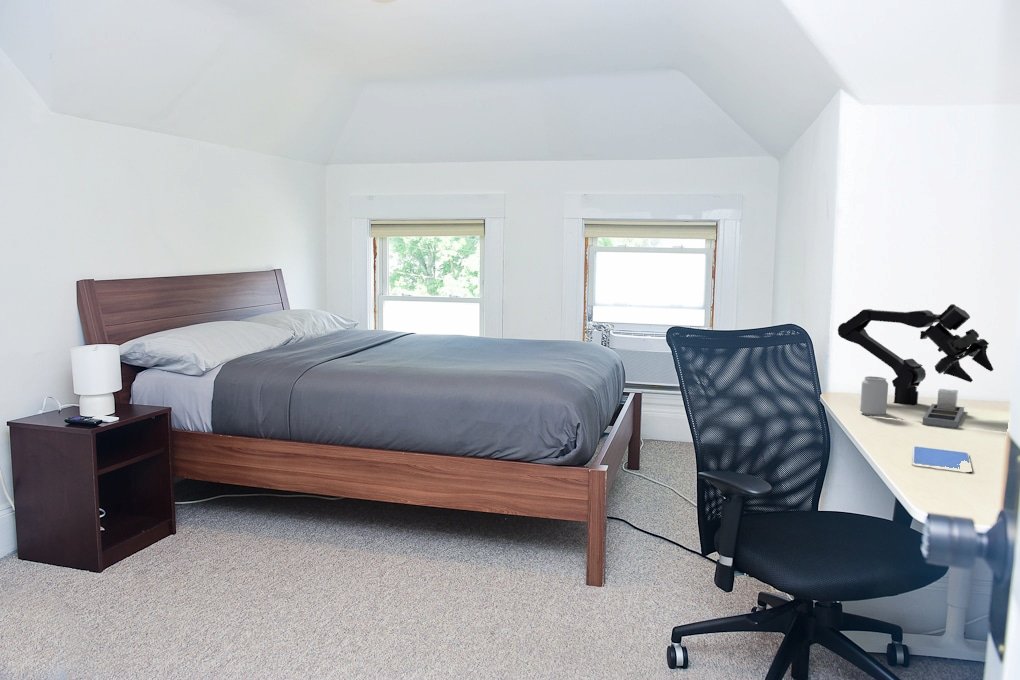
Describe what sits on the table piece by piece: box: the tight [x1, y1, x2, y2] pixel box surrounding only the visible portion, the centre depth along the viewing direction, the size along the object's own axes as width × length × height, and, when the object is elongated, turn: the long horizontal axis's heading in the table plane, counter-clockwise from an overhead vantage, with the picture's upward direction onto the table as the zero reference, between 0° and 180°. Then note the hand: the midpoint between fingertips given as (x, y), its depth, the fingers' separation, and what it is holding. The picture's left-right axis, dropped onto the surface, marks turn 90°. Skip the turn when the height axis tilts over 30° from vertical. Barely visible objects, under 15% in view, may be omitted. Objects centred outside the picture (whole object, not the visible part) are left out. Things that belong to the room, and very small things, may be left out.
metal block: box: [936, 388, 959, 411], centre depth 233 cm, size 5×5×7 cm
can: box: [859, 375, 889, 417], centre depth 231 cm, size 8×8×12 cm
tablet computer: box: [912, 446, 971, 469], centre depth 179 cm, size 19×13×1 cm, turn 150°
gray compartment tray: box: [921, 403, 965, 429], centre depth 227 cm, size 9×27×2 cm, turn 145°
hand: (982, 375), depth 230 cm, fingers open, 9 cm apart
